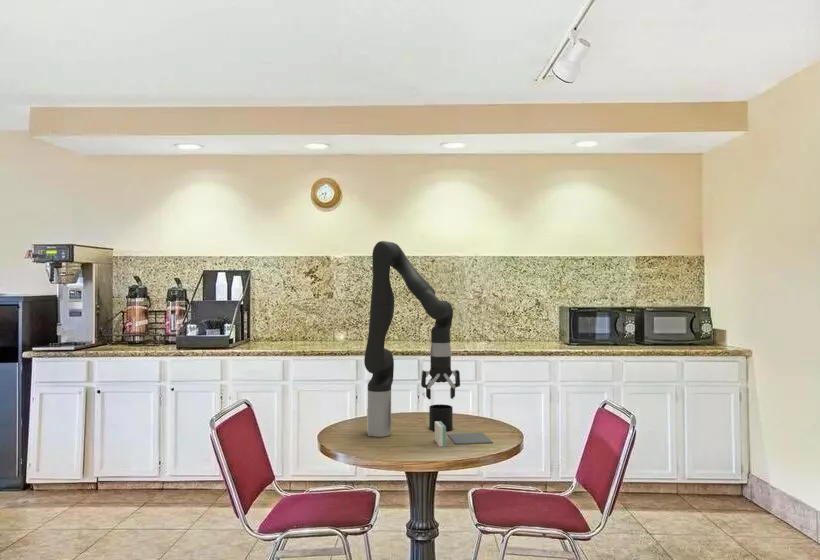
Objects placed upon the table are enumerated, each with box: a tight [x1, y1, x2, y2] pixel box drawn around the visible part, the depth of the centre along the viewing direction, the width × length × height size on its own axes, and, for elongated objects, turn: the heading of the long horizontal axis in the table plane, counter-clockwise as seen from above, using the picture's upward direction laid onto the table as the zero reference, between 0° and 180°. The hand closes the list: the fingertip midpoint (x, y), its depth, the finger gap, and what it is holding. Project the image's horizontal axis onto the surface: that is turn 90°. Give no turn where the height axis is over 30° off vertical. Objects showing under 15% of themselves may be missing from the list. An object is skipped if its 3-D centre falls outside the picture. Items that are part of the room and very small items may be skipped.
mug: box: [428, 403, 454, 432], centre depth 225 cm, size 9×12×9 cm
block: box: [434, 421, 447, 448], centre depth 203 cm, size 2×9×7 cm, turn 8°
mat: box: [446, 432, 494, 446], centre depth 208 cm, size 14×14×1 cm
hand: (440, 398), depth 204 cm, fingers open, 8 cm apart
